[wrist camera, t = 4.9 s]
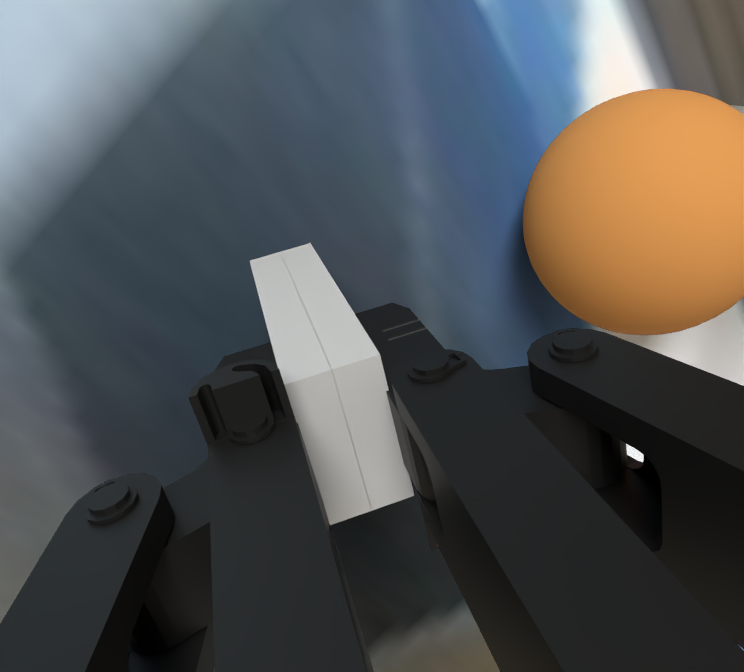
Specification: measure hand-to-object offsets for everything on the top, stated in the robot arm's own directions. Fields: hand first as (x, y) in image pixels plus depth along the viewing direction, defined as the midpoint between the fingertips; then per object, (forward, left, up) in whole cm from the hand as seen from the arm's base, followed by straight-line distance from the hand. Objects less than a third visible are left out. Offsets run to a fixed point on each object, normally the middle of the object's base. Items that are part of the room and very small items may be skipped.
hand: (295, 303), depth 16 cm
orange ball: (+9, 0, +1) cm, 9 cm away
